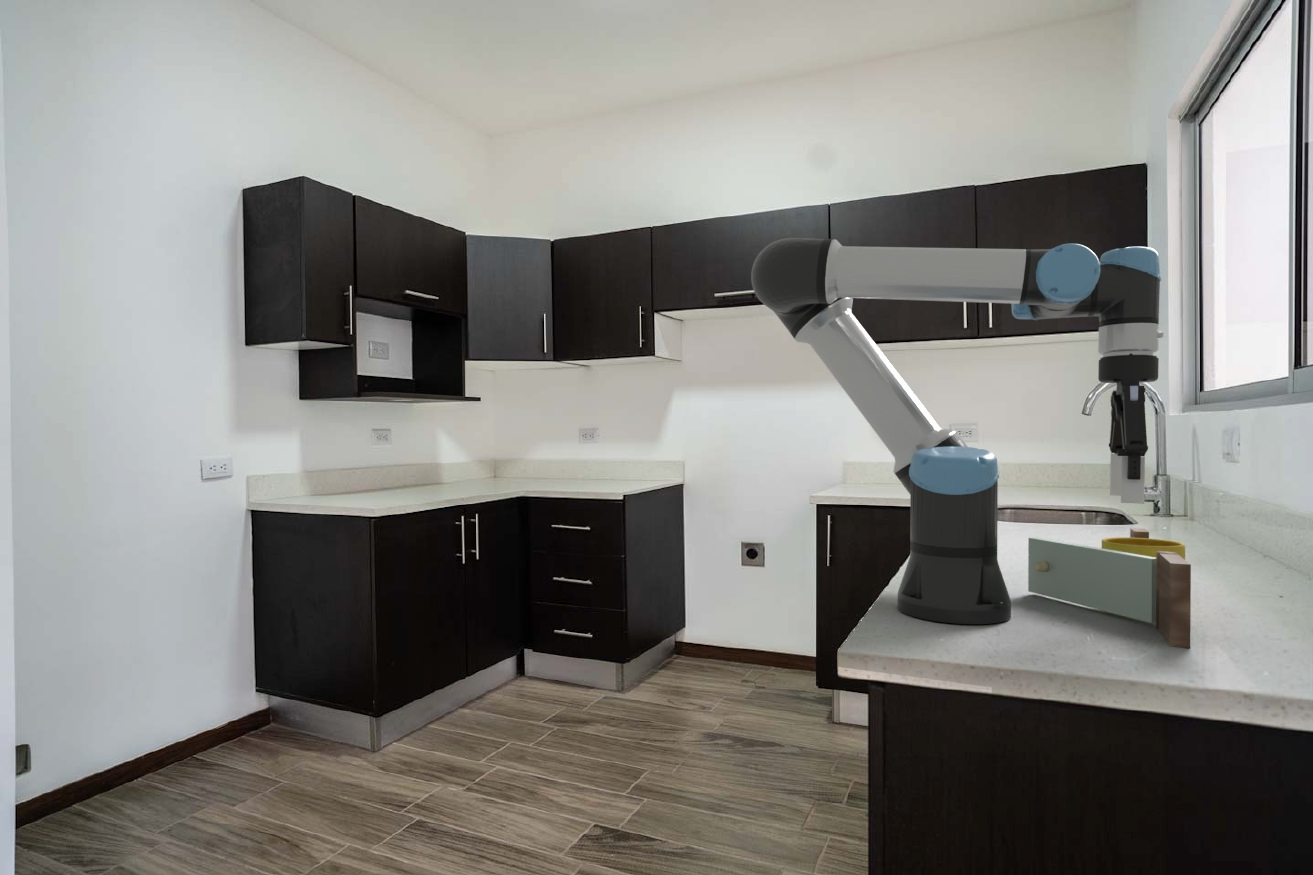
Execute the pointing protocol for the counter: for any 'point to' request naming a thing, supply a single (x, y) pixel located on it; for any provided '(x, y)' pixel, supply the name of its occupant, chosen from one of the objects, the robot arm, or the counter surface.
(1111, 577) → the door leaf
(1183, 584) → the door frame
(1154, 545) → the plant pot
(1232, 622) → the counter surface
